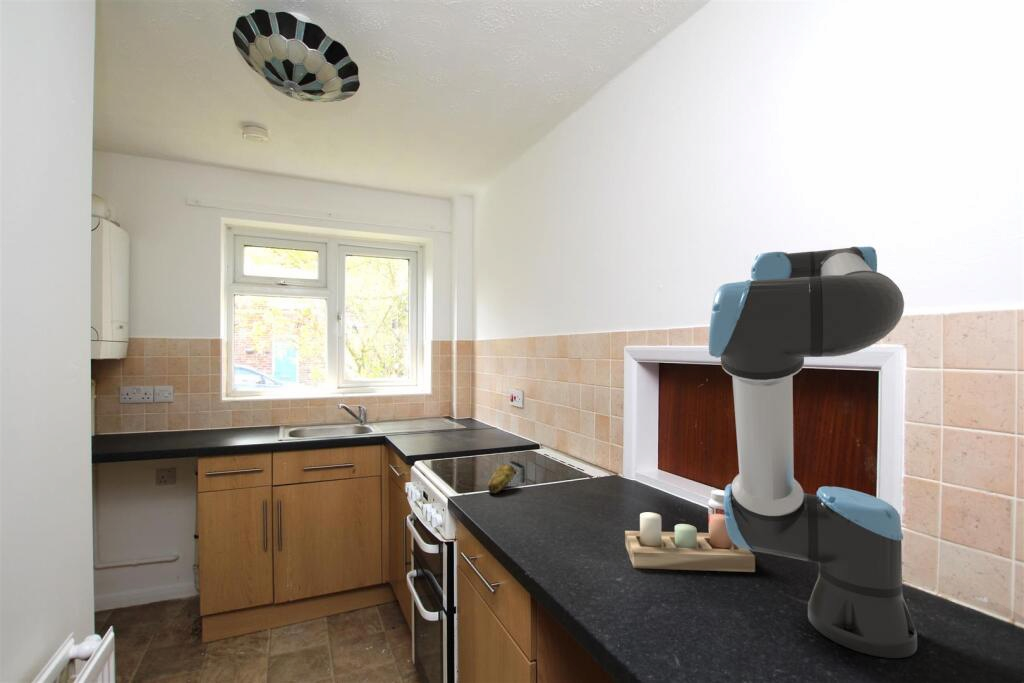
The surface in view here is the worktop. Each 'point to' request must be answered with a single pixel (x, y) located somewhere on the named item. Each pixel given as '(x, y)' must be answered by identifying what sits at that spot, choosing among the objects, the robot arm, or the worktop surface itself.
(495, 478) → the potato
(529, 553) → the worktop surface
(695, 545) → the button green
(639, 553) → the board
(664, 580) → the worktop surface
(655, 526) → the button cream
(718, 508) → the pill bottle
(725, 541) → the button terracotta
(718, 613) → the worktop surface
